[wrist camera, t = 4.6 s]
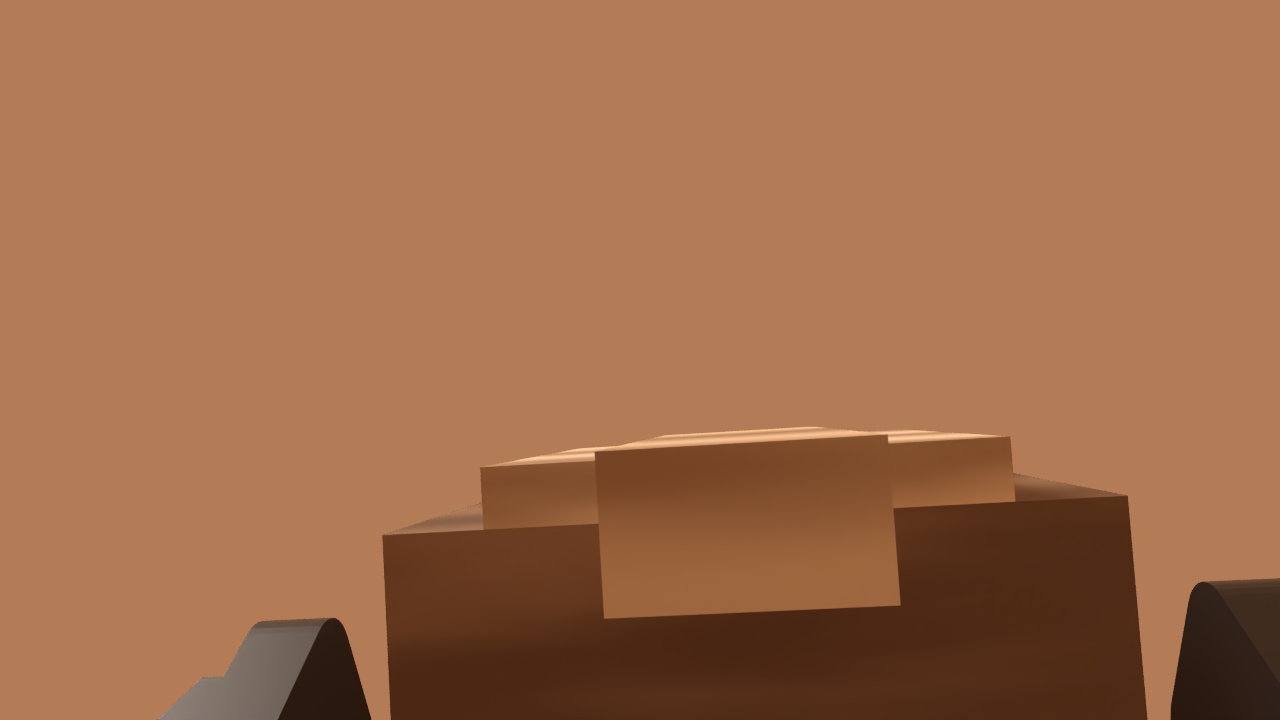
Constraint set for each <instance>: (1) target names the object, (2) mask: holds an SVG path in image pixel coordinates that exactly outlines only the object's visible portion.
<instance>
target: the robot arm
mask: <svg viewBox="0 0 1280 720" xmlns="http://www.w3.org/2000/svg"><path fill="white" fill-rule="evenodd" d="M157 720H371V716H370V713H369V709H368V706H367V703H366V699H365V696H364V692H363V689H362V685H361V682H360V678H359V675H358V671H357V668H356V665H355V661H354V657H353V654H352V650H351V647H350V644H349V640H348V637H347V634H346V631H345V629H344V627H343V625H342V623H341V622H340V621H339V620H337V619H336V618H321V619H298V620H274V621H261V622H258V623H257V624H255V625H254V626H253V627H252V628H251V629H250V631H249V633H248V634H247V636H246V638H245V639H244V641H243V643H242V645H241V647H240V649H239V650H238V652H237V654H236V656H235V658H234V659H233V661H232V663H231V665H230V666H229V668H228V670H227V672H226V674H225V675H224V677H209V678H208V677H205V678H202V679H201V680H199V681H198V682H197V683H196V684H195V685H194V686H193V687H192V688H191V689H190V690H189V691H188V692H187V693H185V694H184V695H183V696H182V697H181V698H180V699H179V700H178V701H177V702H176V703H175V704H173V705H172V707H170V708H169V709H168V710H167V711H166V712H165V713H164V714H163V715H162V716H160V717H159V718H158V719H157ZM1171 720H1280V578H1277V579H1254V580H1232V581H1210V582H1200V583H1198V584H1197V585H1196V586H1195V587H1194V588H1193V590H1192V592H1191V595H1190V599H1189V603H1188V608H1187V614H1186V620H1185V626H1184V632H1183V638H1182V644H1181V650H1180V656H1179V662H1178V667H1177V674H1176V679H1175V685H1174V691H1173V697H1172V703H1171Z"/></svg>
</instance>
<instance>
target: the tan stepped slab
mask: <svg viewBox="0 0 1280 720" xmlns="http://www.w3.org/2000/svg"><path fill="white" fill-rule="evenodd" d="M480 470H481V471H480V472H481V492H482V511H483V530H488V529H507V528H526V527H545V526H563V525H582V524H599V540H600V557H601V574H602V591H603V609H604V619H609V618H632V617H654V616H676V615H699V614H721V613H743V612H765V611H788V610H810V609H832V608H855V607H877V606H899V605H901V604H900V591H899V578H898V564H897V551H896V538H895V524H894V511H893V508H905V507H924V506H943V505H961V504H980V503H999V502H1015V490H1014V477H1013V466H1012V453H1011V441H1010V437H1009V436H994V435H978V434H963V433H948V432H932V431H916V430H885V431H869V432H860V431H850V430H840V429H830V428H820V427H799V428H783V429H765V430H748V431H731V432H716V433H698V434H683V435H665V436H660V437H656V438H652V439H647V440H643V441H638V442H634V443H630V444H625V445H621V446H615V447H597V448H580V449H575V450H569V451H564V452H559V453H553V454H548V455H543V456H537V457H532V458H527V459H521V460H516V461H511V462H506V463H500V464H495V465H490V466H485V467H481V468H480Z"/></svg>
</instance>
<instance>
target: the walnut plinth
mask: <svg viewBox="0 0 1280 720" xmlns="http://www.w3.org/2000/svg"><path fill="white" fill-rule="evenodd" d="M1013 477H1014V490H1015V502H999V503H980V504H961V505H943V506H924V507H905V508H893V511H894V524H895V538H896V551H897V564H898V578H899V591H900V604H901V605H899V606H877V607H855V608H832V609H810V610H788V611H765V612H743V613H721V614H699V615H676V616H654V617H632V618H609V619H604V609H603V591H602V574H601V557H600V540H599V524H582V525H563V526H545V527H526V528H507V529H488V530H483V511H482V503H479V504H476V505H473V506H470V507H467V508H463V509H461V510H457V511H455V512H451V513H448V514H445V515H442V516H439V517H436V518H433V519H430V520H427V521H424V522H421V523H418V524H415V525H412V526H408V527H405V528H402V529H399V530H396V531H393V532H390V533H387V534H384V535H383V557H384V579H385V601H386V623H387V643H388V644H387V645H388V666H389V688H390V709H391V710H390V711H391V720H1147V710H1146V699H1145V687H1144V676H1143V665H1142V653H1141V642H1140V631H1139V619H1138V608H1137V597H1136V585H1135V574H1134V563H1133V552H1132V541H1131V529H1130V517H1129V506H1128V496H1126V495H1121V494H1116V493H1111V492H1106V491H1101V490H1096V489H1091V488H1085V487H1081V486H1076V485H1070V484H1066V483H1060V482H1055V481H1050V480H1045V479H1040V478H1035V477H1030V476H1025V475H1020V474H1015V473H1013Z"/></svg>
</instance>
